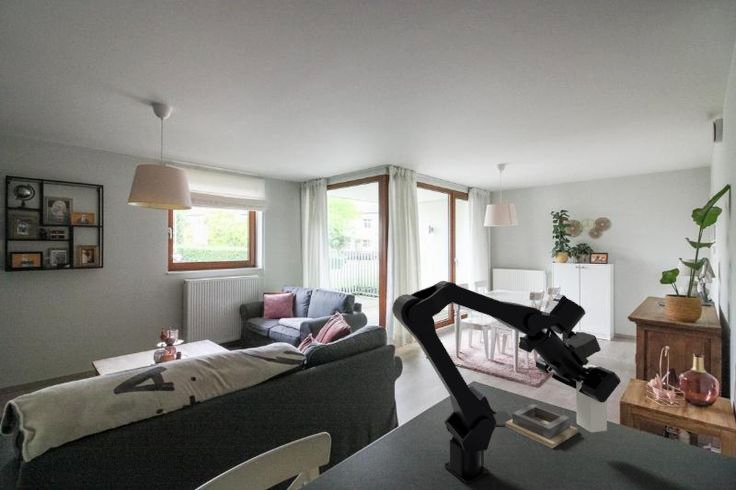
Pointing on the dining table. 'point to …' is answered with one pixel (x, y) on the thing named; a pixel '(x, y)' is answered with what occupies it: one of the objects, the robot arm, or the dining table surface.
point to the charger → (590, 410)
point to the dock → (542, 425)
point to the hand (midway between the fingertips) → (596, 396)
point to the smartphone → (502, 417)
